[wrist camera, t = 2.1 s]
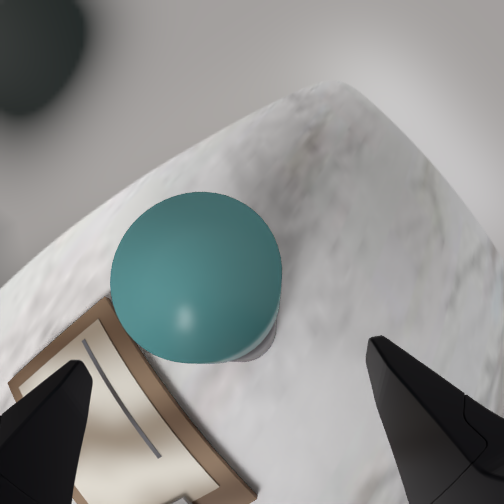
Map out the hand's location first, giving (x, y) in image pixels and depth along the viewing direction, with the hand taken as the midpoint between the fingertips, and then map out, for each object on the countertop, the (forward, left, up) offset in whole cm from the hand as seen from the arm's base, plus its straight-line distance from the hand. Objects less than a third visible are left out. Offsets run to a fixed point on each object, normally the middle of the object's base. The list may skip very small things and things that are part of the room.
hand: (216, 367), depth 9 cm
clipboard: (+1, +11, -10) cm, 15 cm away
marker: (+2, -1, -10) cm, 10 cm away
